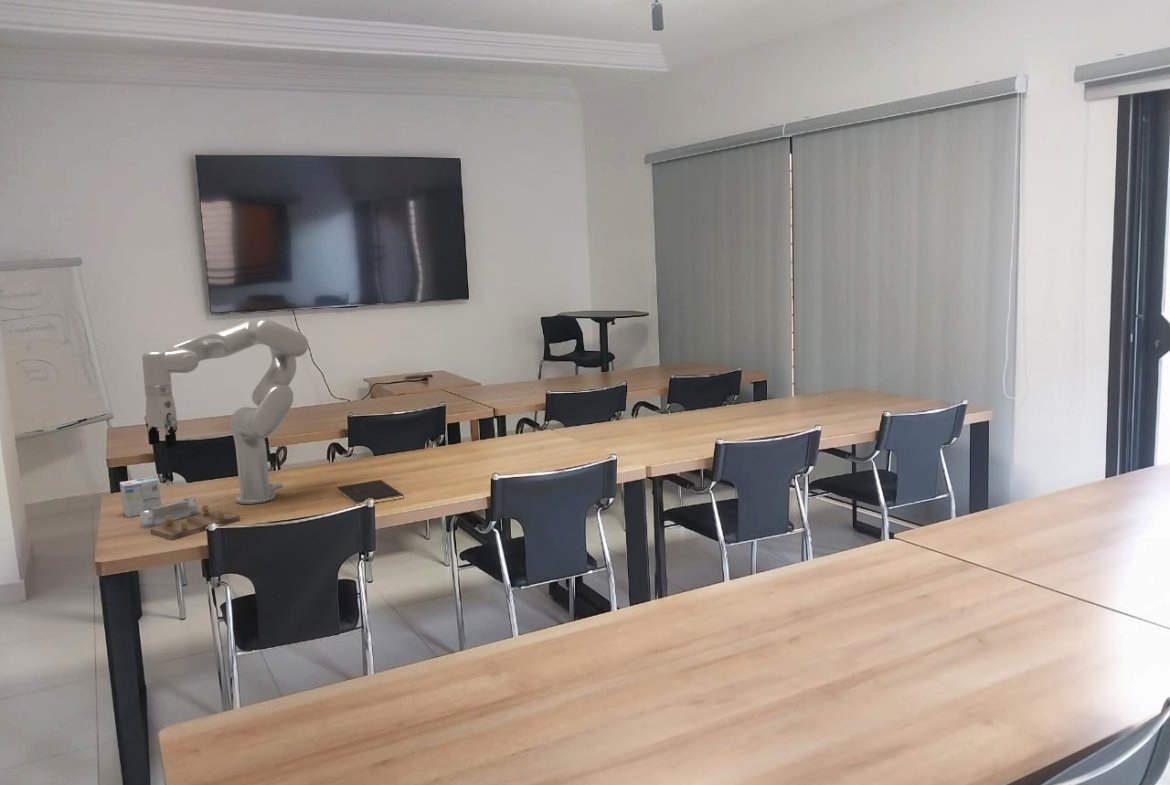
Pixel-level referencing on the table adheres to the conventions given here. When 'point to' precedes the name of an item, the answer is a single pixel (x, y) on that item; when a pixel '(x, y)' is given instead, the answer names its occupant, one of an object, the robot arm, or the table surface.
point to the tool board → (193, 523)
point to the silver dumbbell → (168, 512)
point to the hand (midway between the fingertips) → (162, 445)
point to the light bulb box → (140, 495)
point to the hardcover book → (369, 491)
